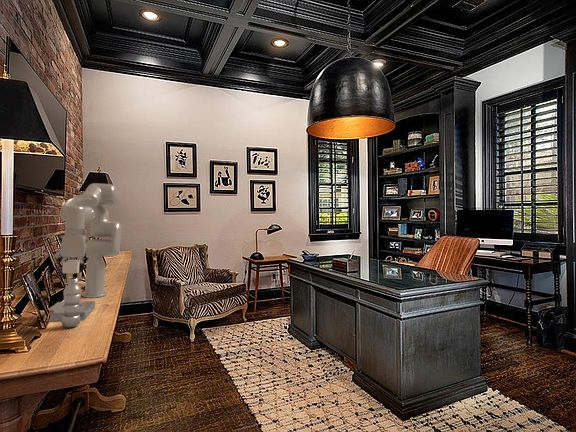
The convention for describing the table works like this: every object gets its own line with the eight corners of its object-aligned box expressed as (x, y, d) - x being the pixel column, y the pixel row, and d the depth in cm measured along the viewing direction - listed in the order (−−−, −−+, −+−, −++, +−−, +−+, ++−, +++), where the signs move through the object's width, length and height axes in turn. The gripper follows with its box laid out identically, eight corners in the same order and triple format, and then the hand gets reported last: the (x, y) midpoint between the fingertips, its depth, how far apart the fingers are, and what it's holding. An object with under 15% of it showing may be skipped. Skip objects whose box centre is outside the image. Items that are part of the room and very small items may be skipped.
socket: (57, 309, 171) (57, 301, 171) (94, 308, 176) (95, 300, 176) (42, 321, 152) (42, 312, 152) (84, 320, 157) (84, 311, 157)
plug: (69, 275, 169) (69, 259, 169) (83, 275, 171) (84, 259, 171) (61, 279, 159) (62, 262, 159) (77, 279, 161) (77, 262, 161)
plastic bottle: (57, 327, 146) (60, 278, 146) (74, 323, 152) (76, 276, 152) (67, 330, 143) (69, 280, 143) (83, 326, 149) (85, 278, 149)
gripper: (97, 233, 170) (95, 270, 170) (55, 231, 165) (53, 270, 165) (93, 233, 163) (91, 273, 163) (50, 232, 158) (48, 273, 158)
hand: (72, 271), depth 164 cm, fingers closed on plug, 6 cm apart
